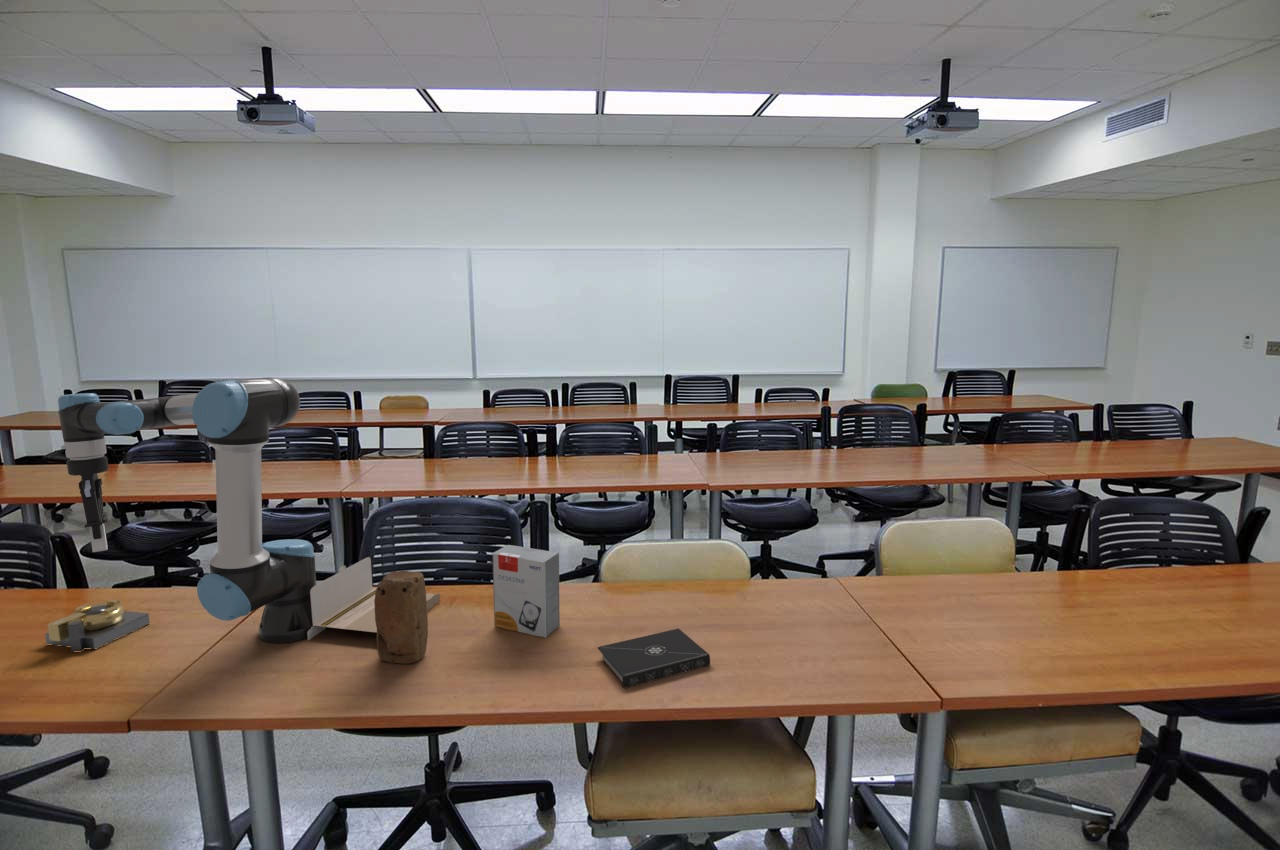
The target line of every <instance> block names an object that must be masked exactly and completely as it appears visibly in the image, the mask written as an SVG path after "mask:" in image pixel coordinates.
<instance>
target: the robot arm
mask: <svg viewBox="0 0 1280 850" xmlns="http://www.w3.org/2000/svg"><path fill="white" fill-rule="evenodd" d="M57 403H58V410H57V413H58V416H59V422H60V428H61V433H62V434H61V435H62V439H63V445H61V448H60V449H62V450H65V451H64V452H65V457H66V458H67V460H66V469H67V473H68V475H70V476H73V477H74V476H75V477H76V476H80V478H81V480H80V482H78V489H79V490H80V491H79V494H80V497H81V499H82V500H81V501H82V506H83V509H84V514H85V519H86V520H85V521H86V524H85V525H84V528H88V529H89V535H90V536H89V537H90V544H91V550H92V551H91V552H92V553H96V552H105V551H107V550H108V547H109V546H108V541H107V535H106V528H105V523H108V519H105V517H106V516H105V512H104V503H103V502H104V501H103V488H102V485H103V479H102V478H99V475H98V474H101V473H102V474H103V473H105V472H107V471H109V468H110V467H109V462H108V457H107V456H106V455H105V454H107V452H108V451H107V445H106V439H105V435H114V436H115V435H116V436H121V435H128V434H129V435H130V434H133V433H135V432H136V431H143V430H149V429H157V428H164V427H165V428H167V427H173V426H174V427H175V426H184V425H185V426H186V425H196V430H197V431H198V432H199V433H200V434H201V435H203V436H205V437H206V442H207V444H208V445H209V446H211V447H212V448H213V449H214V451H215V486H216V487H215V489H216V490H215V491H216V493H215V494H216V496H215V497H216V529H217V530H216V532H217V534H216V535H217V537H216V538H217V539H216V540H217V552H216V553H215V554H214V555H212V556H211V557H210V559H209V573H207V574H204V575H203V577H201V578H200V580H199V581H198V583H197V586H196V593H197V598H198V601H199V603H200V604H201V606H202V607H203V609H205V610H206V612H207V613H208V614H209V615H210V616H211V617H214V618H215V619H218V620H220V621H225V622H227V621H235V620H236V619H238V618H240V617H241V618H242V617H246V616H247V615H249V614H251V613H252V612H254V611H256V610H258V609H260V608H262V607H263V606H264V608H263V612H262V615H261V620H260V624H259V626H258V633H259V638H260V640H262V641H263V642H266V643H269V644H270V643H271V644H283V643H292V642H297V641H301V640H304V639H308V636H307V632H308V631H309V630H310V629H311V627H312V626H313V622H312V610H311V597H310V590H311V589H312V588H313V587H314V586H315V585H317V570H316V559H315V558H316V555H315V552H314V546H313V544H312V543H311V542H310V541H308V540H304V539H296V538H295V539H291V538H290V539H289V538H288V539H276V540H271V541H266V542H263V516H262V515H263V514H262V513H263V510H262V506H263V505H262V502H263V499H262V448H263V447H264V446H265V445H266V444H267V443H268V442H269V441H270V439H269V438H270V436H269V435H270V431H269V430H270V429H272V428H277V427H282V426H284V425H287V424H288V423H289V422H291V421H292V420H294V419H295V417H296V416H297V415H298V413H299V411H300V407H301V399H300V394H299V392H298V390H297V389H296V388H295V387H294V386H293V385H292V384H291V383H289V382H288V381H287V380H285V379H281V378H278V377H261V378H246V379H243V378H242V379H226V380H222V381H218V382H217V381H216V382H212V383H208V384H207V385H205V386H204V387H202V389H201V390H200V391H198V393H192V394H191V393H190V394H180V395H171V396H164V397H163V396H162V397H161V396H160V397H154V398H153V397H151V398H145V399H144V398H143V399H131V400H122V401H121V400H120V401H111V402H110V401H109V402H101V401H100V397H99V395H98V394H97V393H93V392H92V393H89V392H86V393H84V392H83V393H71V394H63V395H61V396H59V397H58V400H57Z"/></svg>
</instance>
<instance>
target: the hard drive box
mask: <svg viewBox="0 0 1280 850" xmlns="http://www.w3.org/2000/svg"><path fill="white" fill-rule="evenodd" d="M492 578H493V579H492V584H493V585H492V586H493V588H492V589H493V614H494V615H493V617H494V621H493V623H494V625H493V626H494V628H495V627H496V628H499V629H504V630H506V631H514V632H517V633H518V632H519V633H522V634H526V635H530V636H534V637H541V638H547V637H548V636H549V635H550V634H552V633H553V632H554V631H556V630H557V628H559V627H560V626H561V625H560V624H561V623H560V617H561V616H560V615H561V614H560V612H561V611H560V553H559V552H555V551H550V550H545V549H538V548H531V547H525V546H519V545H513V544H512V545H511V544H507V545H505V546H503V547H501V548H499V549H498V550H496V551H494V552H492Z"/></svg>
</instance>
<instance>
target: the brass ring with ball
mask: <svg viewBox="0 0 1280 850" xmlns="http://www.w3.org/2000/svg"><path fill="white" fill-rule="evenodd" d="M124 611H125V610H124V606H123V603H121V601H120V599H109V600H106V602H101V603H96V604H90V603H89V604H88V603H85V604H82V605H80V606H78V607H75V611H73V612H72V613H71V614H69V615H67V616H64V617H61V618H59V619H57V620H55V621H52V622H49V623H47V631H48V632H49V638H50V640H52V641H62V640H64V639H67V638H69V631H68V625H69V624H70V623H72V622H73V621H83V624H84V631H90V630H96V629H100V628H104V627H107V626H110V625H113V624H115V623H117V622H119V621H121V620H122V619H123V618H124Z"/></svg>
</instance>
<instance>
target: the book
mask: <svg viewBox="0 0 1280 850" xmlns="http://www.w3.org/2000/svg"><path fill="white" fill-rule="evenodd" d="M597 649H598V650H599V652H600V653H601V654H602V659H603V661H604V662H605V663H606V664H607V666H609V668H610V669H611V670H612V672H613V673H615V674H616V676H617V678H619V680H620V681H621V682H622V688H623V689H627V688H629V687H630V688H631V687H634V686H637V684H638V685H641V683H642V684H645V683H648V681H649V682H653V681H656V679H657V680H660V679H664V678H667V676H668V677H672V676H675V675H678V674H682V672H683V673H686V672H685V671H687V672H690V671H693V670H697V668H698V669H701V667H702V668H705V667H709V666H710V665H711V655H710V653H708V652H707V651H706V650H705V649H704V648H702V647H701V646H700V645H699V644H697V642H696V641H694V640H693V639H692V638H691V637H689V636H688V635H687V634H686V633H685V632H684V631H683V630H682V629H680V628H676V629H675V628H674V629H671V630H666V631H661V632H657V633H653V634H648V635H644V636H639V637H635V638H632V639H627V640H623V641H618V642H613V643H609V644H605V645H600V646H597ZM708 665H709V666H708ZM689 670H690V671H689ZM671 675H672V676H671ZM652 680H653V681H652Z"/></svg>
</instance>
